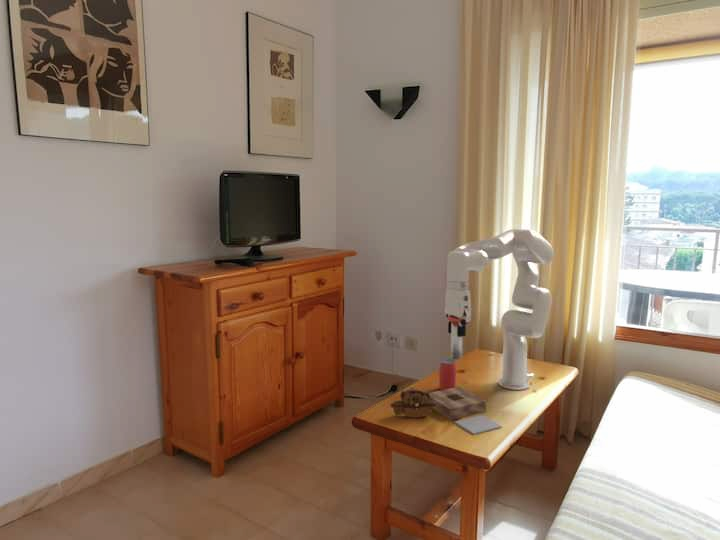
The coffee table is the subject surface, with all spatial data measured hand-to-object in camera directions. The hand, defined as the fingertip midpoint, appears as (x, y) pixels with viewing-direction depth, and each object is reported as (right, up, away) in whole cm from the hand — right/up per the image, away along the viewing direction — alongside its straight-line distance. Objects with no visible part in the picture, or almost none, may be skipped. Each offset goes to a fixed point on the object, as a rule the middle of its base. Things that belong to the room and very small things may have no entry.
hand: (456, 333), depth 189 cm
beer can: (0, -26, +22) cm, 34 cm away
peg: (0, -9, +1) cm, 9 cm away
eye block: (0, -28, +4) cm, 28 cm away
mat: (+5, -30, -11) cm, 32 cm away
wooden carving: (-16, -29, -4) cm, 34 cm away
